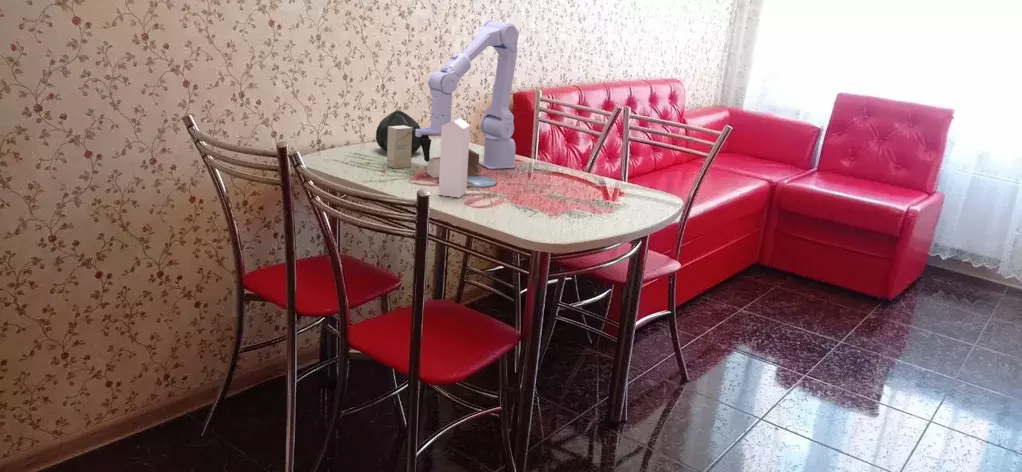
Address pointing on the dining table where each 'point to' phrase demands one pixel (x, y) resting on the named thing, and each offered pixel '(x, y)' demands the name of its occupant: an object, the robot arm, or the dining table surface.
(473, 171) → the brown upright panel
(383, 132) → the squash
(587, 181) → the dining table surface
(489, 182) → the light blue plate
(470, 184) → the cork mat
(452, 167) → the milk
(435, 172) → the letter cube
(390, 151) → the skincare box
